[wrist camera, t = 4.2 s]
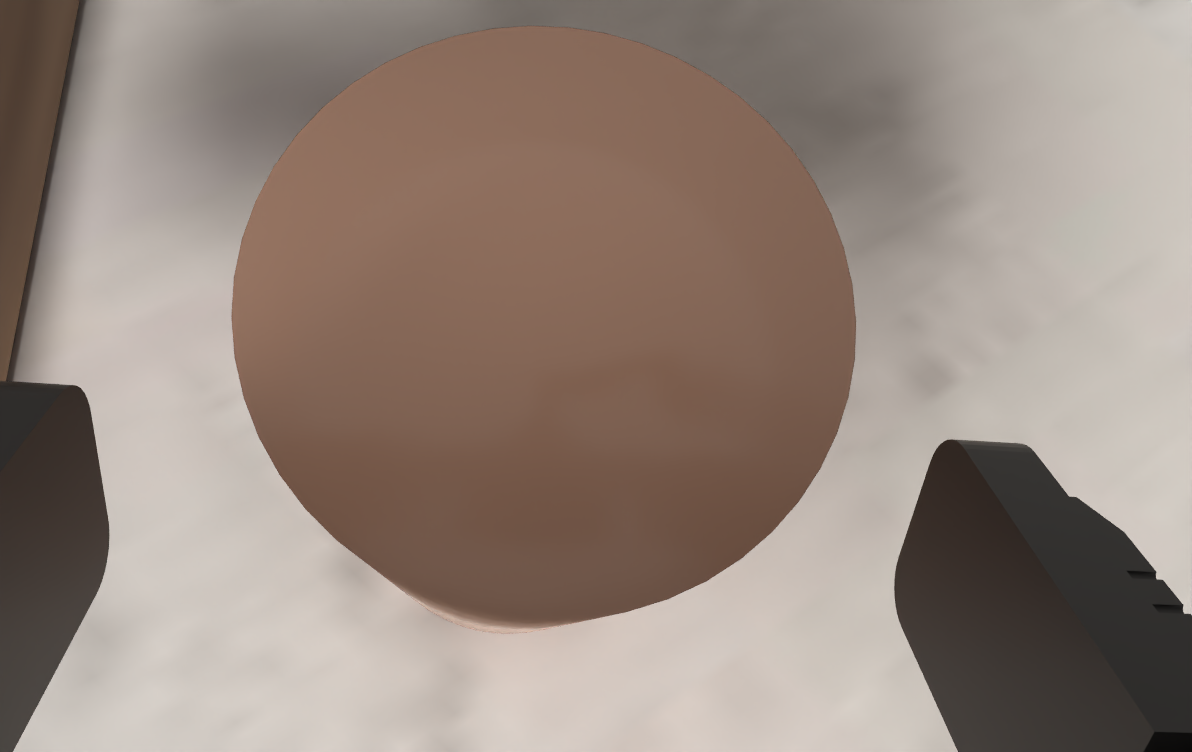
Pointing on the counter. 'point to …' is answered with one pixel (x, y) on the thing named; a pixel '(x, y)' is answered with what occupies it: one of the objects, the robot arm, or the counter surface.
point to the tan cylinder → (543, 325)
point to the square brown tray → (26, 135)
